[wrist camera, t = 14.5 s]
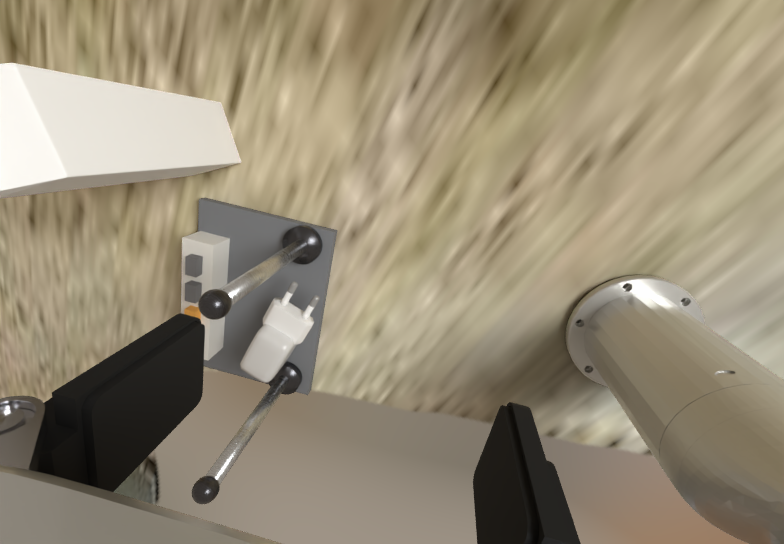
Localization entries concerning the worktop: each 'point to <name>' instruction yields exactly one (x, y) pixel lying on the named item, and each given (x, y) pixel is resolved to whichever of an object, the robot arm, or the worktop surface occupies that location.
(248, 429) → the cord post
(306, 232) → the cord post
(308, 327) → the power adapter
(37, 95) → the milk
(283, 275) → the mat
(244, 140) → the worktop surface
